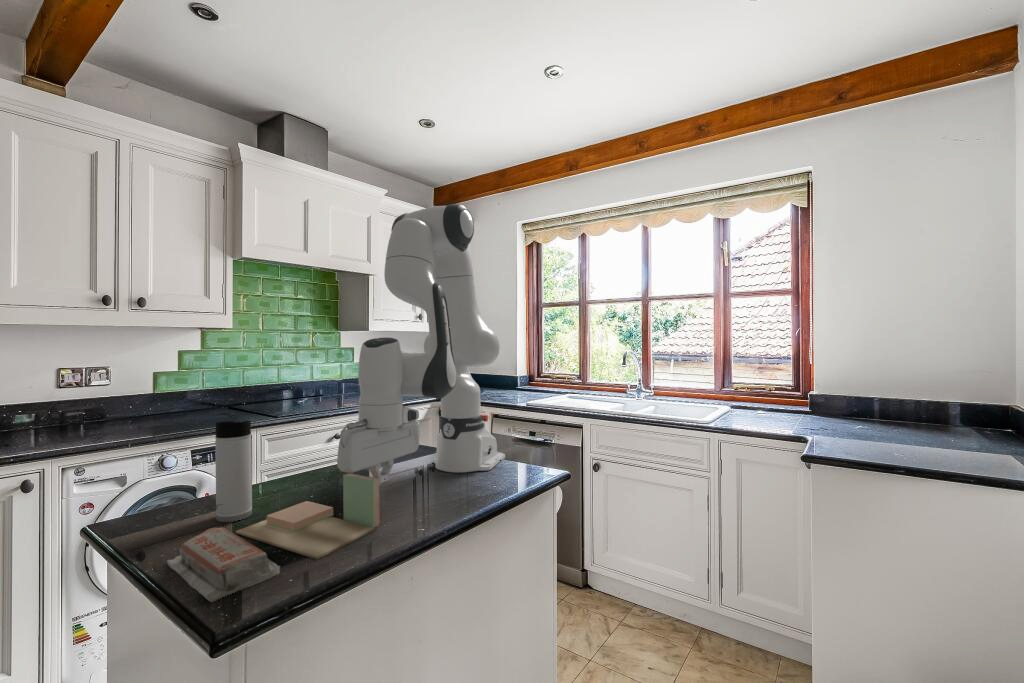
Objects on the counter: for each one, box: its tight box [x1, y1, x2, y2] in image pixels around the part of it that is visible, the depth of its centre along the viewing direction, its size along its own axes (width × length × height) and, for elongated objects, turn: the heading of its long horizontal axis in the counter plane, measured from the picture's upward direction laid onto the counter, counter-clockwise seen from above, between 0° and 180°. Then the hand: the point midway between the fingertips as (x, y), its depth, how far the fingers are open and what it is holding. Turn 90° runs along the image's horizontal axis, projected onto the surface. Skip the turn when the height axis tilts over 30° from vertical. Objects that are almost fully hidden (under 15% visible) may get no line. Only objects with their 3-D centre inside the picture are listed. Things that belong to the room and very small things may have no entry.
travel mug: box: [214, 420, 253, 523], centre depth 94 cm, size 6×7×20 cm
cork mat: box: [235, 516, 376, 560], centre depth 87 cm, size 13×22×1 cm, turn 62°
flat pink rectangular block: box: [266, 500, 334, 532], centre depth 92 cm, size 2×8×9 cm
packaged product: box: [166, 527, 281, 603], centre depth 73 cm, size 18×5×10 cm
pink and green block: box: [342, 473, 380, 528], centre depth 91 cm, size 2×8×9 cm, turn 62°
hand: (381, 483), depth 96 cm, fingers closed
